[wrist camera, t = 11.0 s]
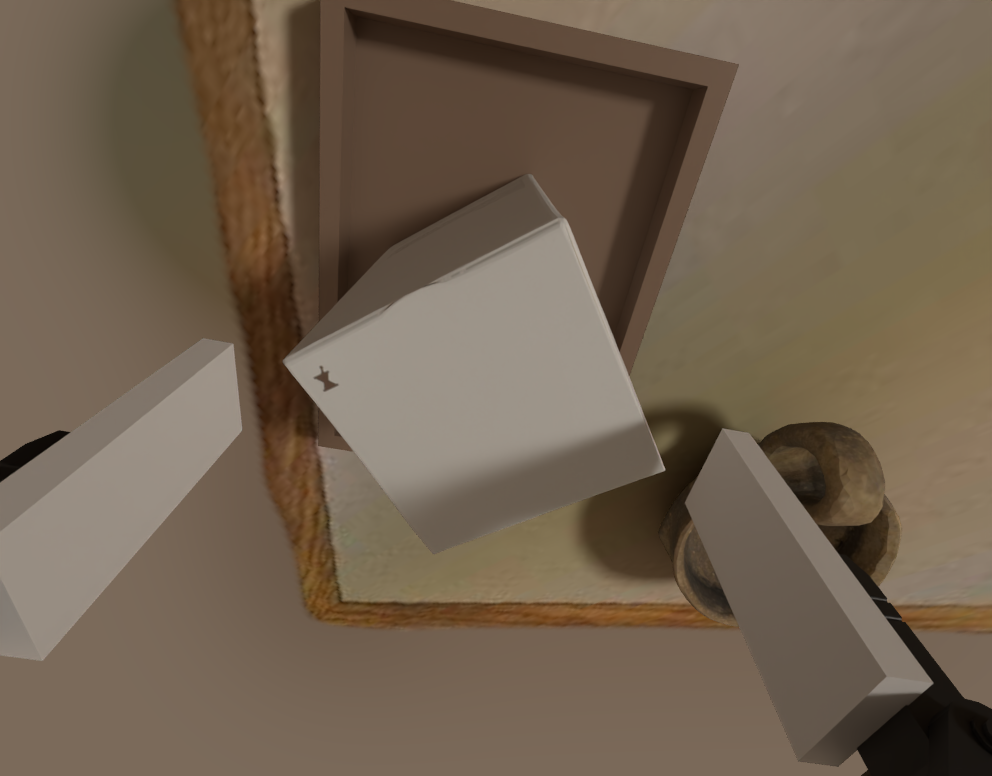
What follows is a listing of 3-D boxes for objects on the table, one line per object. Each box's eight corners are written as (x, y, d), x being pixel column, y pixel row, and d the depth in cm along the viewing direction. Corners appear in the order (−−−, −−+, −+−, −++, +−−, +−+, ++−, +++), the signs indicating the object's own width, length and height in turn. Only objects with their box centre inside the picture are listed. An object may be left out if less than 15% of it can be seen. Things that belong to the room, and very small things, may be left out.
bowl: (640, 566, 39) (678, 692, 30) (669, 374, 31) (733, 471, 22) (813, 564, 38) (903, 693, 30) (889, 368, 30) (1046, 466, 21)
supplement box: (461, 376, 30) (426, 565, 17) (385, 247, 27) (265, 361, 13) (596, 316, 28) (675, 479, 15) (534, 167, 25) (565, 209, 11)
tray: (339, -13, 22) (320, -29, 20) (716, 70, 23) (738, 64, 21) (331, 424, 33) (318, 445, 31) (584, 465, 34) (589, 488, 32)
